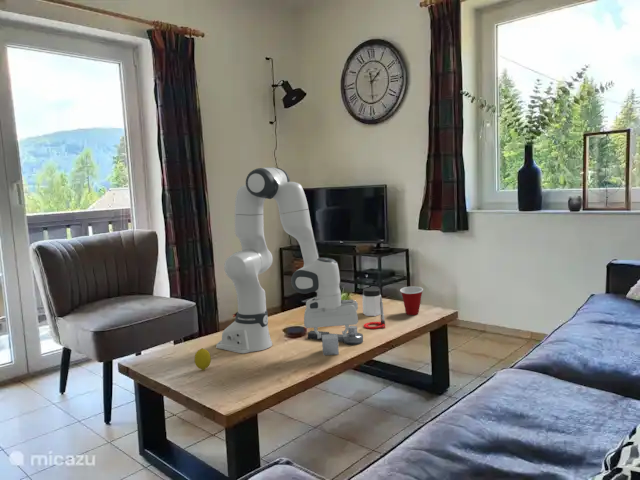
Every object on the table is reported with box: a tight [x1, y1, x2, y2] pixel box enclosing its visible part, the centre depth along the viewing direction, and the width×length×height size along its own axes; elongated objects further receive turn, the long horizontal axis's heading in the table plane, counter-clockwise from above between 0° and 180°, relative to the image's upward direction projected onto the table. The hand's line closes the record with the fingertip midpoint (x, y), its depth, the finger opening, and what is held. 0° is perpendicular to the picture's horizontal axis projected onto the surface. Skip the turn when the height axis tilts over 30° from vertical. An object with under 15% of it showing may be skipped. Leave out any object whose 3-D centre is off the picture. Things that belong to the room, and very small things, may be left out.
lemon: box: [194, 348, 212, 371], centre depth 177 cm, size 6×6×8 cm
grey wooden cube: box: [321, 333, 340, 356], centre depth 190 cm, size 6×6×6 cm
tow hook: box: [363, 296, 386, 330], centre depth 220 cm, size 8×13×9 cm
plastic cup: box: [399, 286, 424, 316], centre depth 237 cm, size 11×11×12 cm
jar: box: [361, 287, 382, 317], centre depth 240 cm, size 9×8×12 cm
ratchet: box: [307, 325, 364, 346], centre depth 204 cm, size 23×8×6 cm, turn 67°
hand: (332, 337), depth 189 cm, fingers open, 8 cm apart
